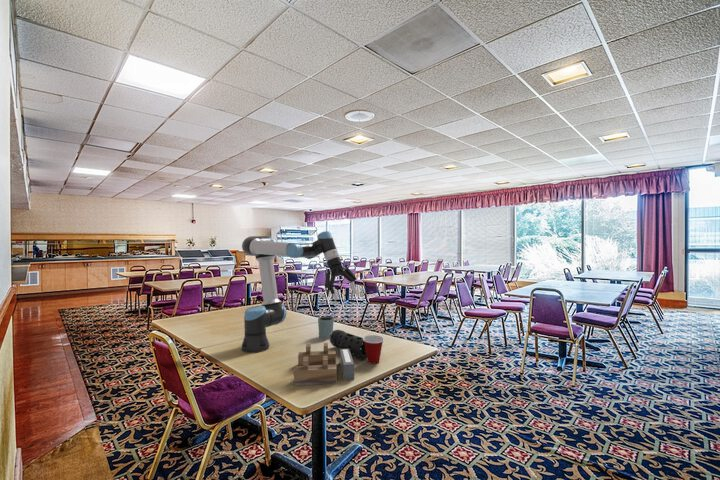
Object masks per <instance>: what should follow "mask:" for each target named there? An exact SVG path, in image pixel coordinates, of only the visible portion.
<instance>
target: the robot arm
mask: <svg viewBox="0 0 720 480" xmlns="http://www.w3.org/2000/svg"><path fill="white" fill-rule="evenodd" d="M336 246H337V245H336V244H335V241H334V237H333V235H332V233H331V232H330V231H329V230H324V231H322V232H320V233H318V235H317V240H315V241H313V242H304V243H303V242H302V243H300V242H296V243H295V242H285V241H284V242H283V241H277V240H276V239H275V238H274V237H272V236H267V235H263V236H262V235H260V236H259V235H257V236H256V235H253V236H248V237H246V238H245V239H244V240H243V241H242V244H241V249H242V251H243V253H244V254H245V255H248V256H251V257H252V256H253V257H255V260H256V261H257V262H258V268H259V275H260V282H261V290H262V299H263V301H262V302H261V305H256V306H255V305H254V306H251V307H248V308H246V309H245V311H244V316H243V320H244V323H243V324H244V325H243V326H244V337H243V341H242V344H241V345H240V346H241V351H242V352H243V353H260V352H264V351H267V350H269V349H270V342H269V339H268V336H267V328H268V327H272V326H276V325H279V324H281V323H283V322H284V321H285V319H286V318H287V308H286V306H285V305H284V304H283V303H282V301H281V300H280V299H279V296H278V287H277V281H276V272H275V266H274V265H275V264H274V260H275V258H276V256H278V257H289V258H290V259H300V258H305V259H307V260H312V259H314V258H316V257H317V256H319V255H321V254H323V256H324V259H325V261H326V265H327V267H328V268H327V269H326V270H324V272H325V280H324V281H325V282H324V283H325V285H324V287H325V289H327V290H329V291H330V294H331V295H332V297H333V300H334V301H337V300H339V299H340V298H339V295H338V293H337V290H336V287H335V286H334V284H335V281H336V277H338V276H341V277H343V278H345V279H346V280H347V281H348V282H349V284H350V288H351V291H352V294H353V295H356V294H358V293H359V292H358V289H357V285H356V282H355V281H356V280H358V279H357V277H356V276H355V274H354V273H353V272H352V271H351V270H350V269H349V267H348V265H347V264H345V265H343V263H342V260H341V257H340V255H339V252H338V249H337V247H336Z"/></svg>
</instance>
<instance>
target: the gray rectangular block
mask: <svg viewBox="0 0 720 480" xmlns="http://www.w3.org/2000/svg"><path fill="white" fill-rule="evenodd" d="M339 361H340V362H339V364H340V367H341V372H342V373H341V374H342V377H343V380H344V381H352V380H355V363H354V360H353V357H352V354H351V352H350V350H349V349H340V348H339Z"/></svg>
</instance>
